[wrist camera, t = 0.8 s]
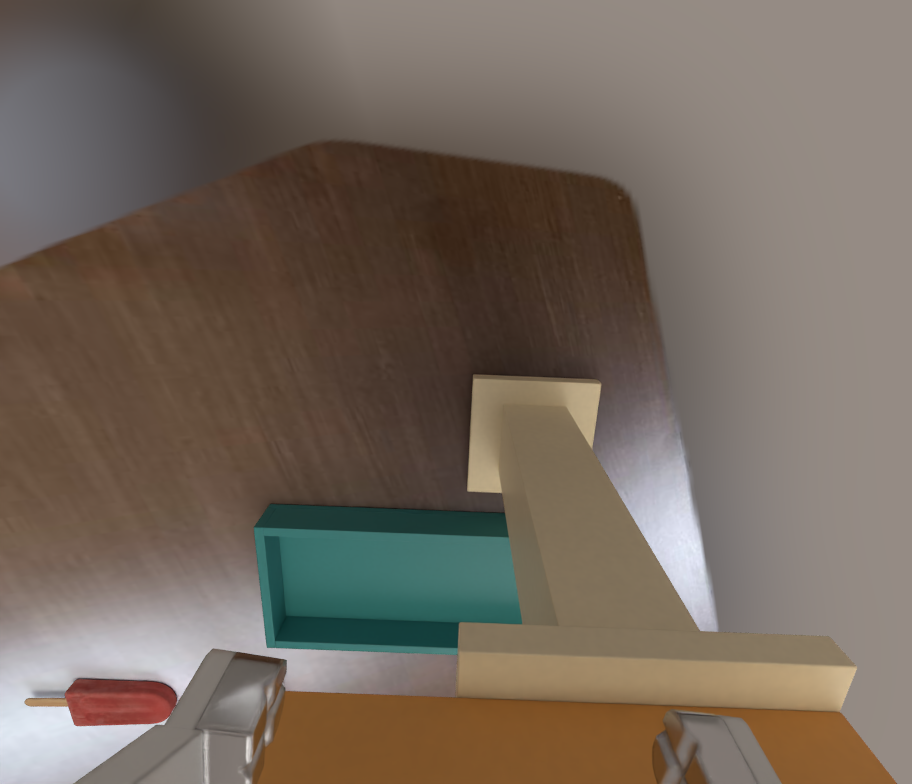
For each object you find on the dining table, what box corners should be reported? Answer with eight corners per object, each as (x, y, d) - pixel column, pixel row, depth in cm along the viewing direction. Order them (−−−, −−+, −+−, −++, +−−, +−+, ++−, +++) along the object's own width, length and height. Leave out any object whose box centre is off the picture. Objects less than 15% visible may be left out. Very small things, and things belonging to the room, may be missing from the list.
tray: (280, 617, 47) (266, 647, 43) (269, 503, 43) (253, 527, 39) (555, 628, 47) (562, 659, 43) (570, 515, 43) (579, 540, 39)
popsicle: (11, 693, 48) (164, 694, 48) (26, 678, 49) (174, 678, 50) (24, 726, 49) (172, 727, 49) (38, 710, 51) (181, 711, 51)
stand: (455, 484, 42) (448, 846, 17) (460, 373, 39) (460, 625, 14) (593, 489, 42) (782, 858, 17) (610, 379, 39) (869, 641, 14)
